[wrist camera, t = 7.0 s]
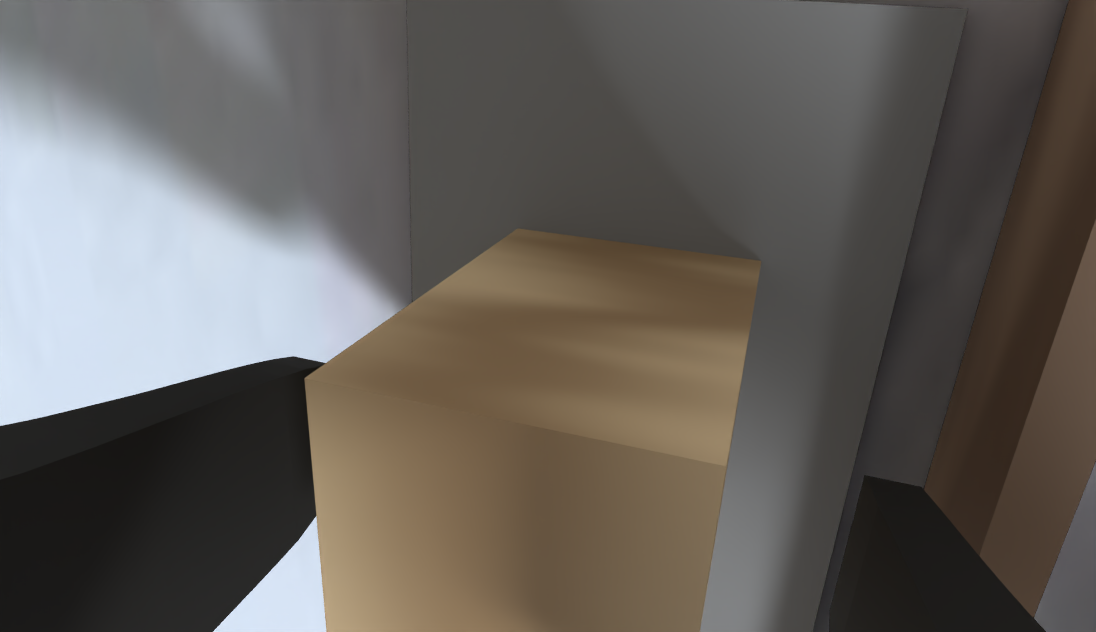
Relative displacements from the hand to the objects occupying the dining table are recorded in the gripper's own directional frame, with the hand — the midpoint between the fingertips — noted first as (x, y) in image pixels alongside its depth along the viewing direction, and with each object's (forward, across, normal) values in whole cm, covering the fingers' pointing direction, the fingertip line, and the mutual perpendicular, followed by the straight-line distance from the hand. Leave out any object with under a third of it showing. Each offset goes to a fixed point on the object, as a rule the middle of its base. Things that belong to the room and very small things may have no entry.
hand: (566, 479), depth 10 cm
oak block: (+3, 0, 0) cm, 3 cm away
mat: (+4, 0, 0) cm, 4 cm away
